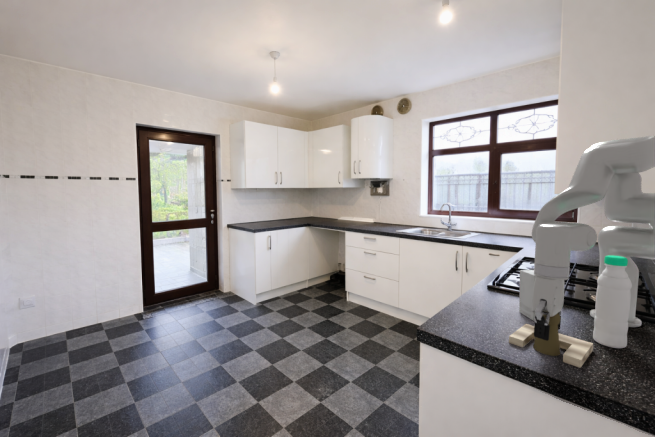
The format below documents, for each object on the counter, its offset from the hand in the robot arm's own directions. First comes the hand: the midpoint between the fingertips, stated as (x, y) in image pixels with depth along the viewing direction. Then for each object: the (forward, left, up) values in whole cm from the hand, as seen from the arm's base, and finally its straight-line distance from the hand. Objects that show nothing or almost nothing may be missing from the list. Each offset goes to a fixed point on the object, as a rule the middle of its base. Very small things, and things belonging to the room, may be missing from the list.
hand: (547, 332), depth 82 cm
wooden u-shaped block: (-3, 0, -5) cm, 6 cm away
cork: (0, 0, -5) cm, 5 cm away
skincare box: (-23, -10, -5) cm, 26 cm away
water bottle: (-18, +10, -5) cm, 22 cm away
